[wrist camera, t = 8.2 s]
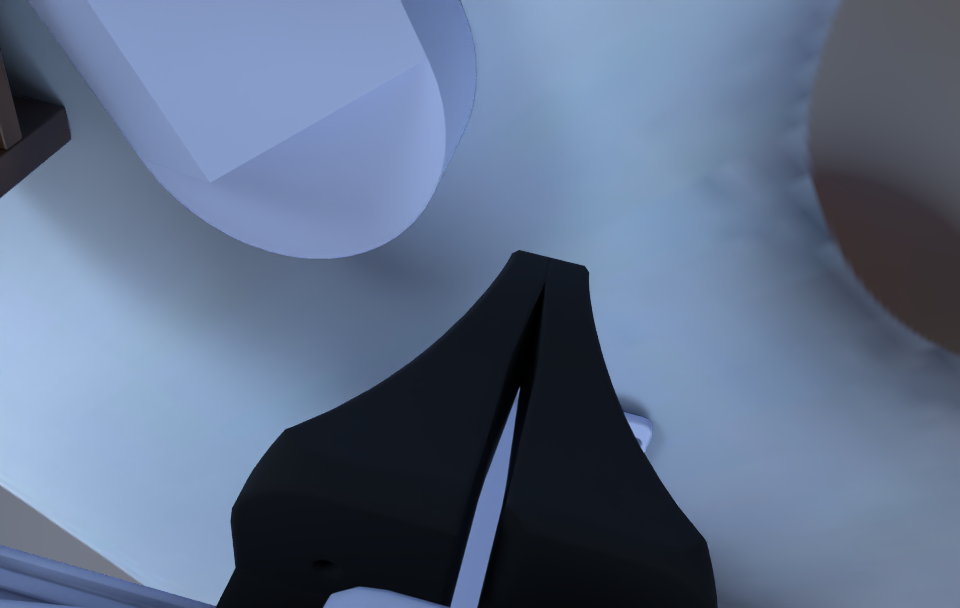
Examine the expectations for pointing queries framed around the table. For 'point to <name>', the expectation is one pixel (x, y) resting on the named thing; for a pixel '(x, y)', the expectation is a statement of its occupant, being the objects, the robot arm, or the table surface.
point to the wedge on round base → (282, 108)
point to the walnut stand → (26, 133)
